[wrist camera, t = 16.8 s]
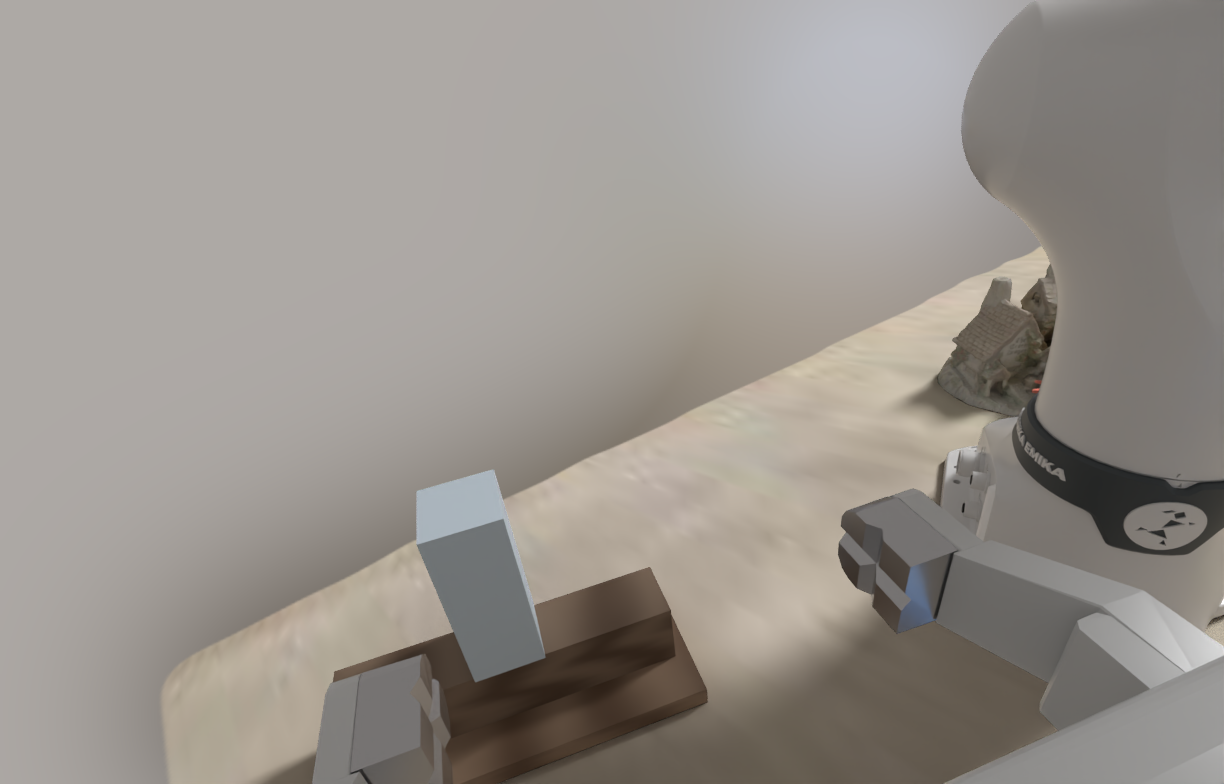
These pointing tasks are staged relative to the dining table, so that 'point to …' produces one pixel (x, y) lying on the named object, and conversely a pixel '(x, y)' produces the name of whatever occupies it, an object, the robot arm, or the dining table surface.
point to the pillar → (478, 574)
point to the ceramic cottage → (1003, 348)
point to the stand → (564, 681)
